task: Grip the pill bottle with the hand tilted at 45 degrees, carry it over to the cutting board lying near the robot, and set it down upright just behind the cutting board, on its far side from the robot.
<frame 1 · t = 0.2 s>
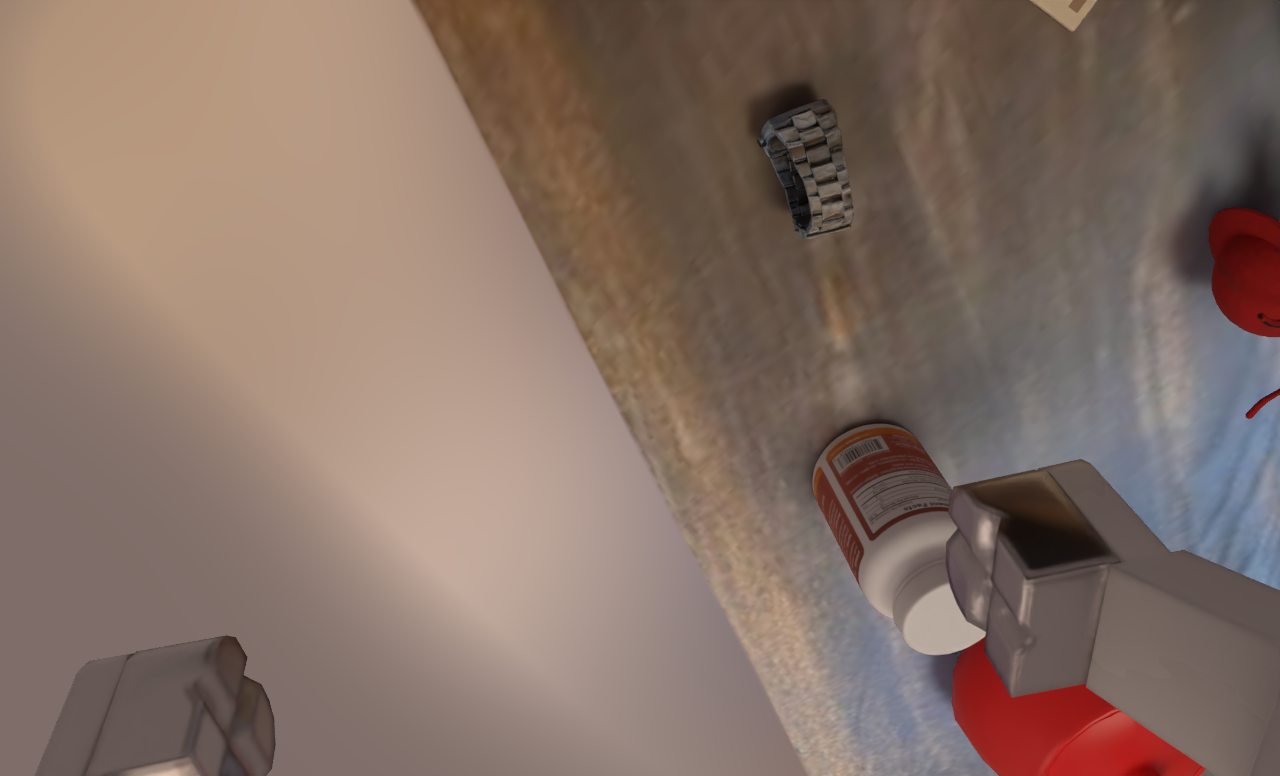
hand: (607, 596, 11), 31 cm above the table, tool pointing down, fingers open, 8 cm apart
teapot: (1048, 640, 64), on the table
wristwatch: (787, 152, 42), on the table
pill bottle: (863, 463, 52), on the table
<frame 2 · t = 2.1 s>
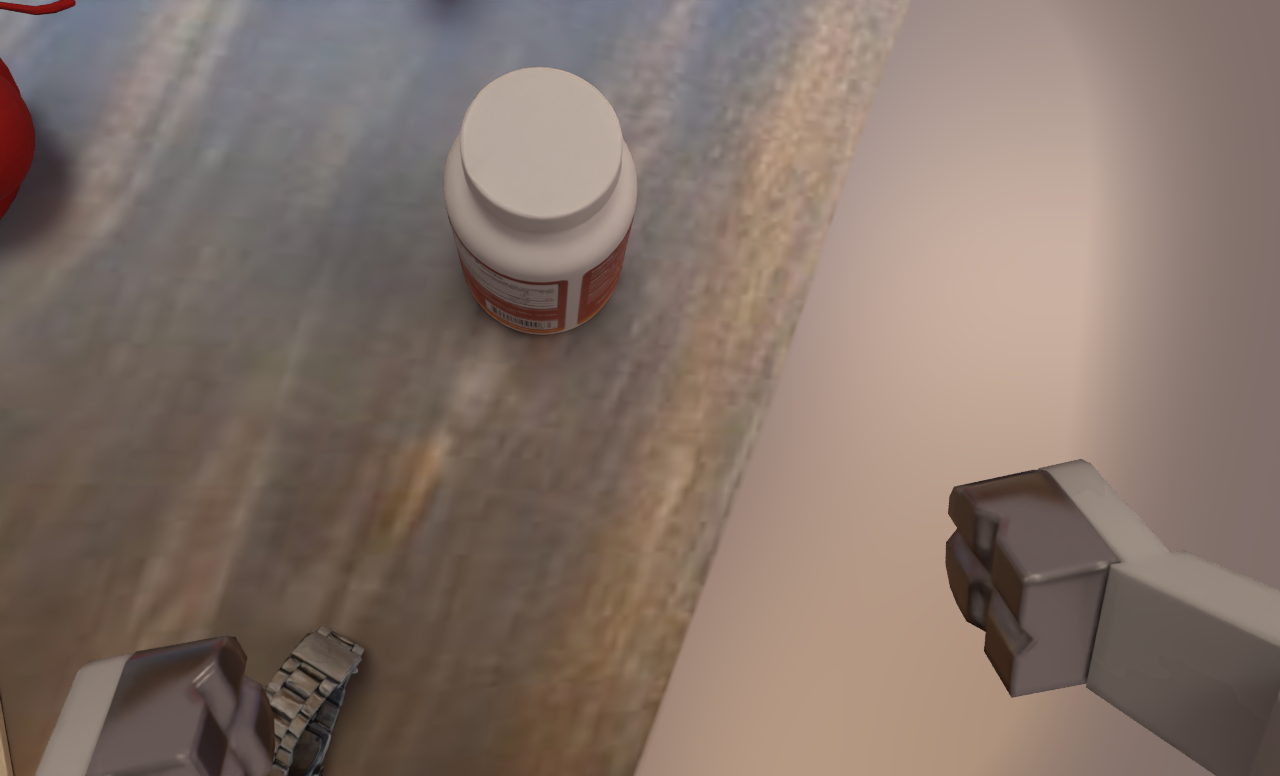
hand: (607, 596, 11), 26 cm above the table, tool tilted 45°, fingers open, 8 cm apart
wristwatch: (316, 709, 35), on the table
pill bottle: (541, 264, 39), on the table
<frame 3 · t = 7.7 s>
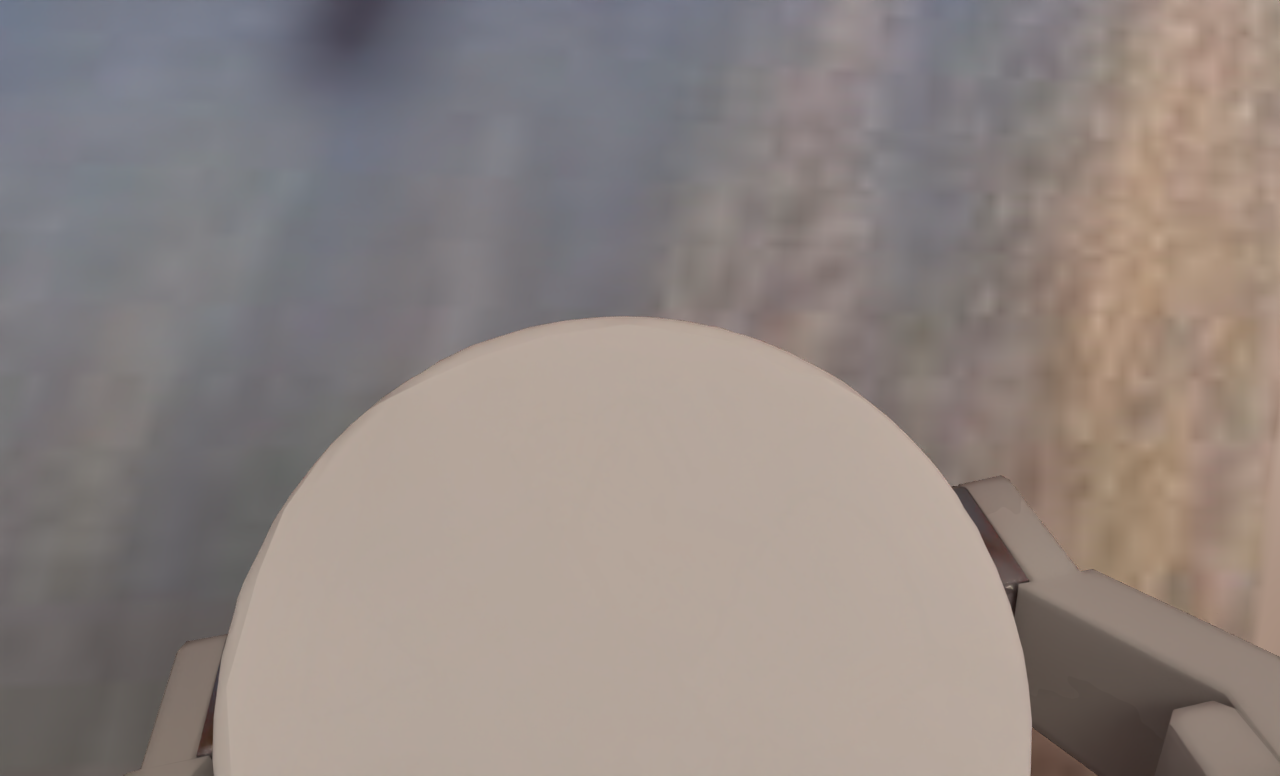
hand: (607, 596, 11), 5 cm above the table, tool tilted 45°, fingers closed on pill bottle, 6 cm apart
pill bottle: (620, 626, 17), on the table, touching gripper
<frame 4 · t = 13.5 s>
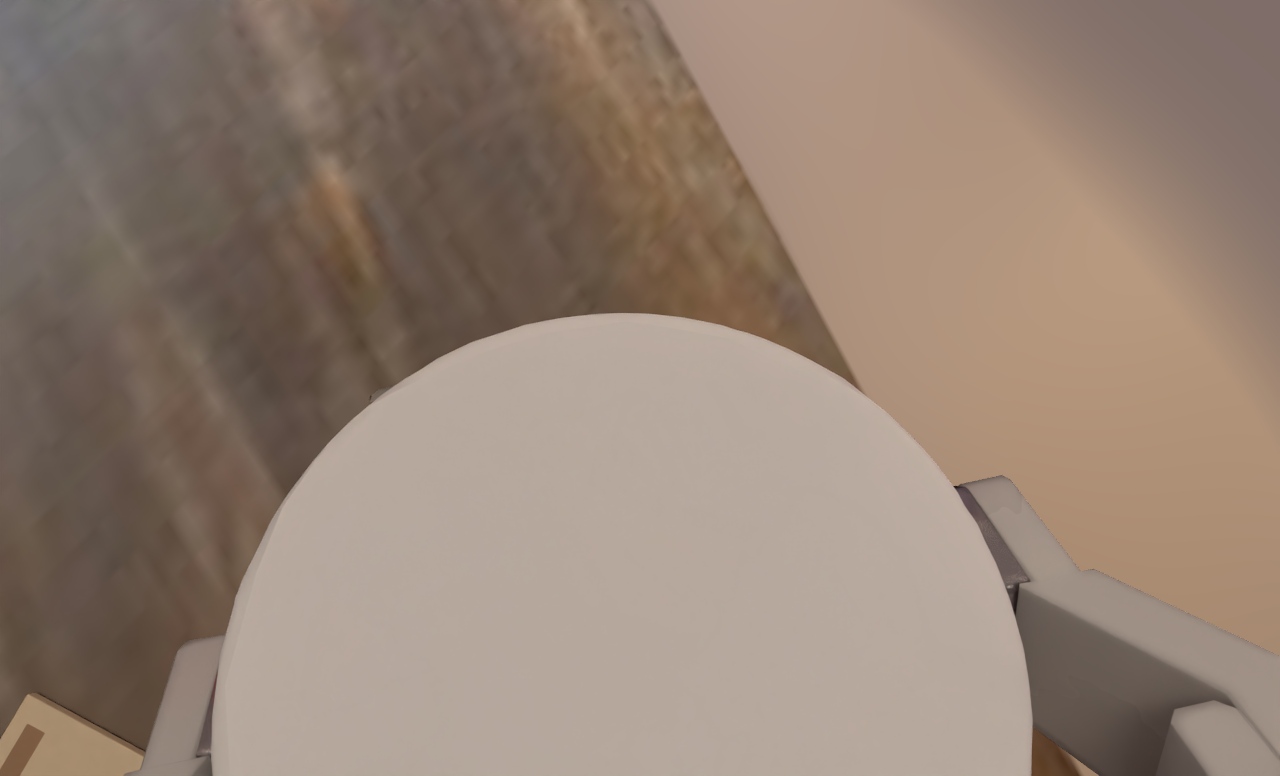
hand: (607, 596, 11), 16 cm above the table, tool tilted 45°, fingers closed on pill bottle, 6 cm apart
pill bottle: (620, 625, 17), point 11 cm above the table, touching gripper
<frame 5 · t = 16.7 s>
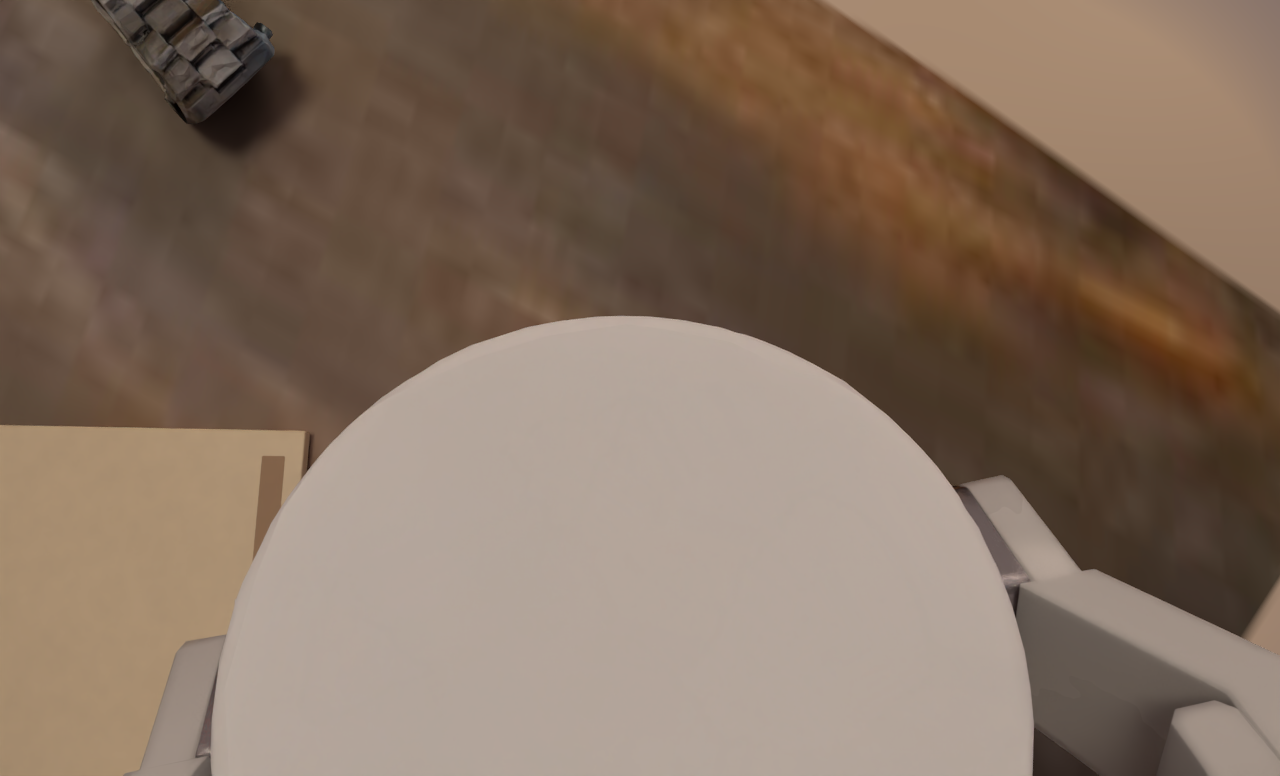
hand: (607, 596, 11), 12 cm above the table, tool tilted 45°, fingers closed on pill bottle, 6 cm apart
wristwatch: (209, 57, 26), on the table
pill bottle: (620, 626, 17), point 7 cm above the table, touching gripper
when the fingers open (5 cm above the table, at t = 19.2 s): pill bottle stays where it is, on the table.
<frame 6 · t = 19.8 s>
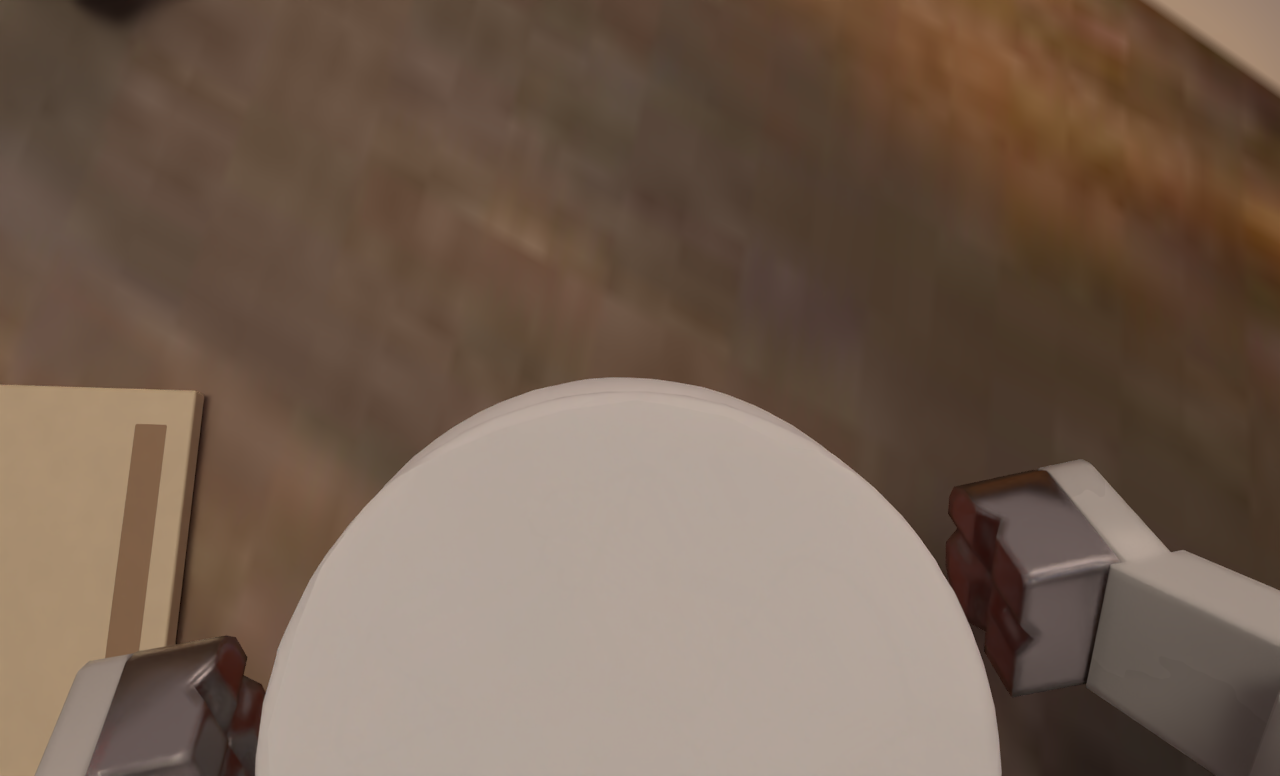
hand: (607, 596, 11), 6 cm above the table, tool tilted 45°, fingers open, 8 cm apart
pill bottle: (622, 645, 17), on the table
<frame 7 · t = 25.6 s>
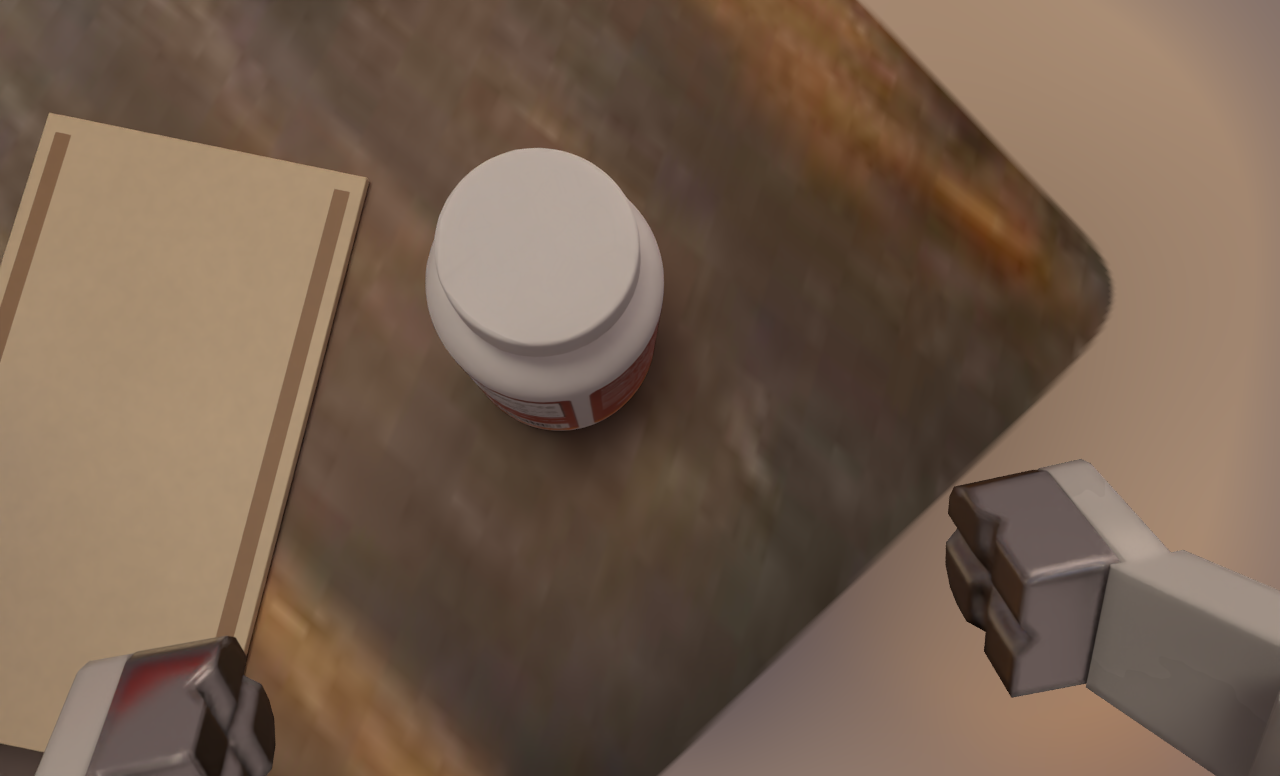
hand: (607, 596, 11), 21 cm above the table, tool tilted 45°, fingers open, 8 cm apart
cutting board: (130, 433, 32), on the table
pill bottle: (561, 343, 33), on the table
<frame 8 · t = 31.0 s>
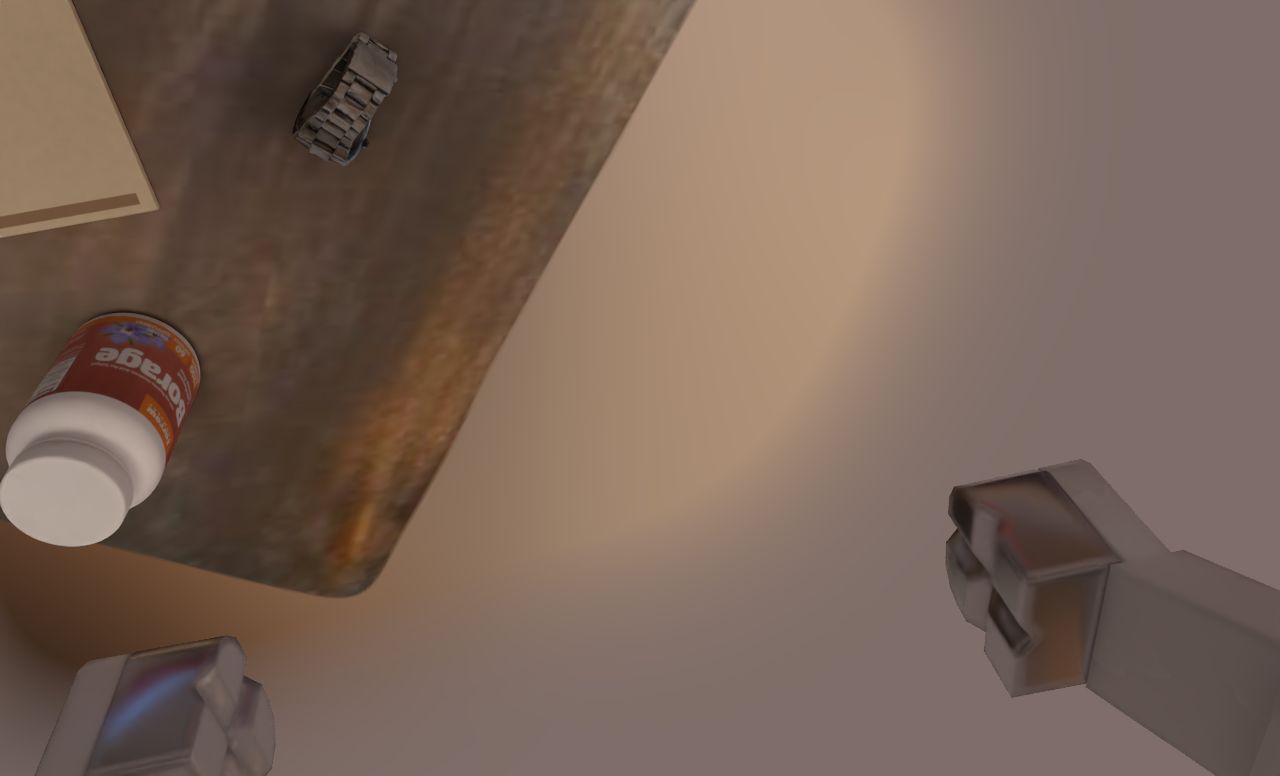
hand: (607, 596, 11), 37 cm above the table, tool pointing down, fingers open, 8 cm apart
wristwatch: (356, 91, 44), on the table
pill bottle: (137, 360, 49), on the table
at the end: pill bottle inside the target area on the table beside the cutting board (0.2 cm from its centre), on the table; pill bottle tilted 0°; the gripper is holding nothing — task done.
